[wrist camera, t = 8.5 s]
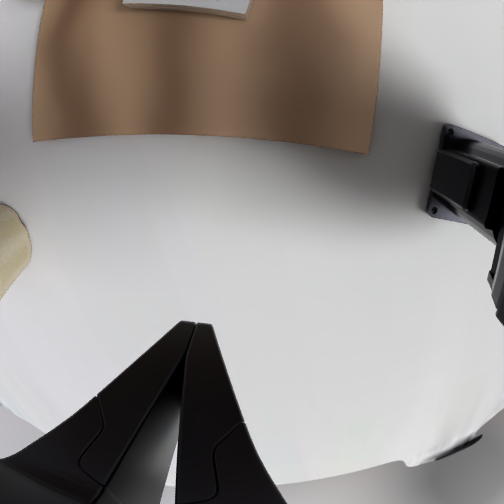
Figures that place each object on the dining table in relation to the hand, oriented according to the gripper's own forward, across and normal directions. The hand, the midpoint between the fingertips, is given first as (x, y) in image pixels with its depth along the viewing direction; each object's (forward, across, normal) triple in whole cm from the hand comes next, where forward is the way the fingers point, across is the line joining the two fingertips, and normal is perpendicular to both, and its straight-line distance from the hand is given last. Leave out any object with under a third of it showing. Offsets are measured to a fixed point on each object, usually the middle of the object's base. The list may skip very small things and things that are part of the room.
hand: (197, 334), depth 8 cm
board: (+12, +4, -15) cm, 19 cm away
